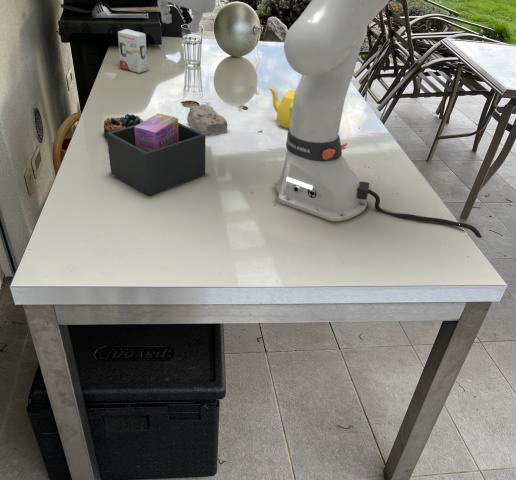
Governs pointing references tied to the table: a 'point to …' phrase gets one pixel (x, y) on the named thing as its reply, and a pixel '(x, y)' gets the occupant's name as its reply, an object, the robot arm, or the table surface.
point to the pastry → (120, 123)
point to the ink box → (132, 50)
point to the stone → (206, 120)
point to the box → (156, 132)
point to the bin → (156, 160)
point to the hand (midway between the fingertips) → (180, 27)
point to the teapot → (283, 107)
